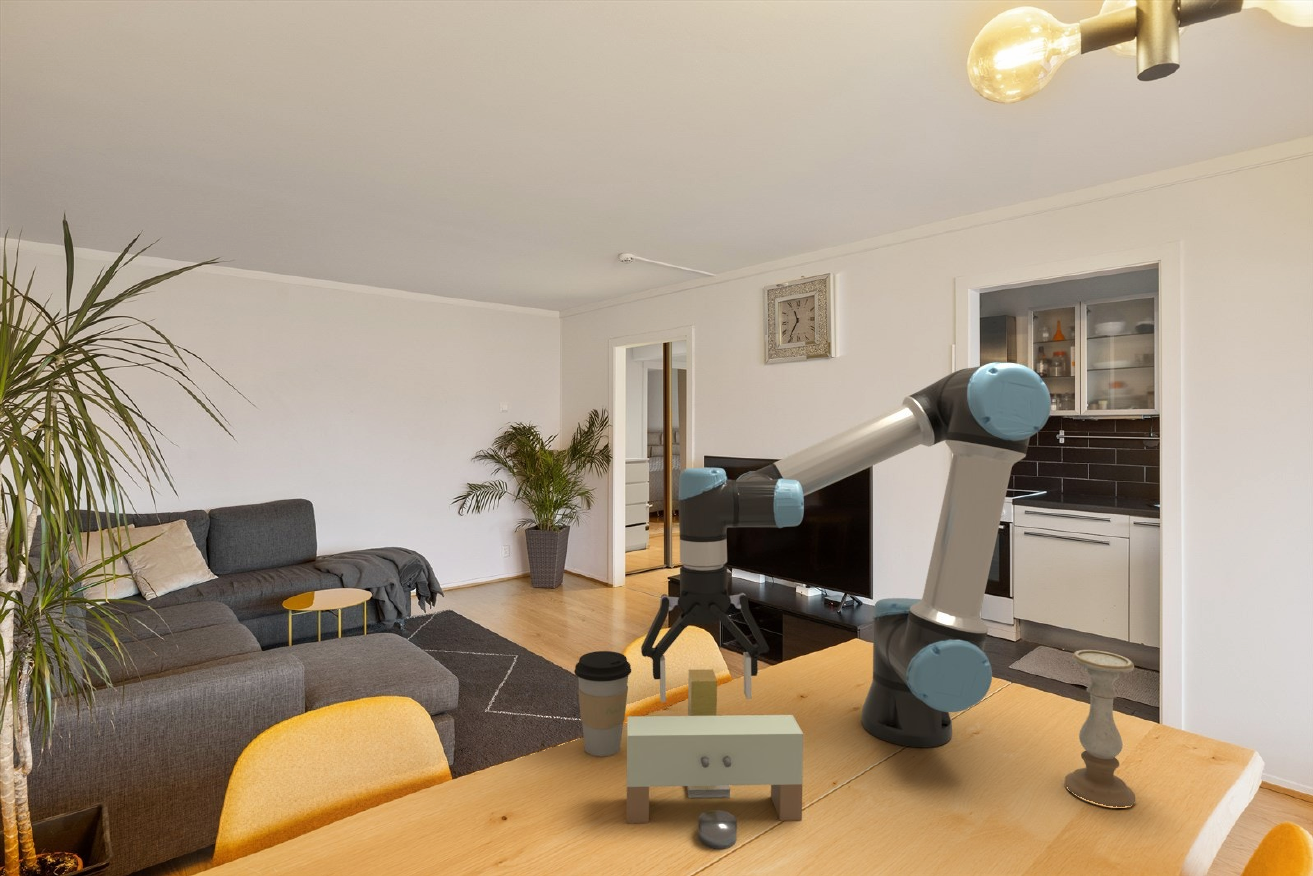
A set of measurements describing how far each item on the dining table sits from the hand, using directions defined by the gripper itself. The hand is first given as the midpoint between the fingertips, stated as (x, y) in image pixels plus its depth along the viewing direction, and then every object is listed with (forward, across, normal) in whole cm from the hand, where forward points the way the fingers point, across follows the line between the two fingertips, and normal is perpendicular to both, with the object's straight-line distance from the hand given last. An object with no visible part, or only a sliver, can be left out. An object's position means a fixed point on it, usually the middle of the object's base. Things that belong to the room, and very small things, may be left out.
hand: (705, 697), depth 110 cm
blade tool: (+10, +1, +4) cm, 11 cm away
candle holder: (+12, -57, +11) cm, 59 cm away
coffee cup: (+10, +17, -5) cm, 20 cm away
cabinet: (+10, +1, +14) cm, 17 cm away
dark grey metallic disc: (+11, +1, +20) cm, 23 cm away
